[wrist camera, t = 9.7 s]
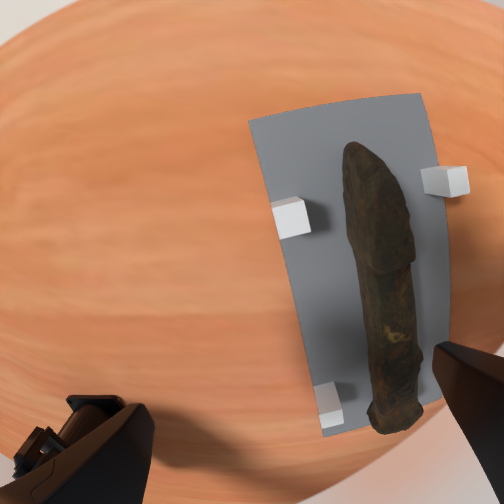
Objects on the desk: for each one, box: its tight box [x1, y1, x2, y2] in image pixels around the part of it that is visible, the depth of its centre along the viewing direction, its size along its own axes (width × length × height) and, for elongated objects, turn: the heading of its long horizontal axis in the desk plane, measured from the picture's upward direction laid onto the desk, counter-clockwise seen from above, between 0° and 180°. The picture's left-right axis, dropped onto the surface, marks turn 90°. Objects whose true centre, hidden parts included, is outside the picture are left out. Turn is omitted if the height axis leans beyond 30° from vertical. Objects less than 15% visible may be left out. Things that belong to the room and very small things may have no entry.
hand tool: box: [342, 141, 424, 435], centre depth 15 cm, size 19×4×5 cm, turn 15°
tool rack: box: [248, 93, 470, 437], centre depth 17 cm, size 11×24×4 cm, turn 15°
